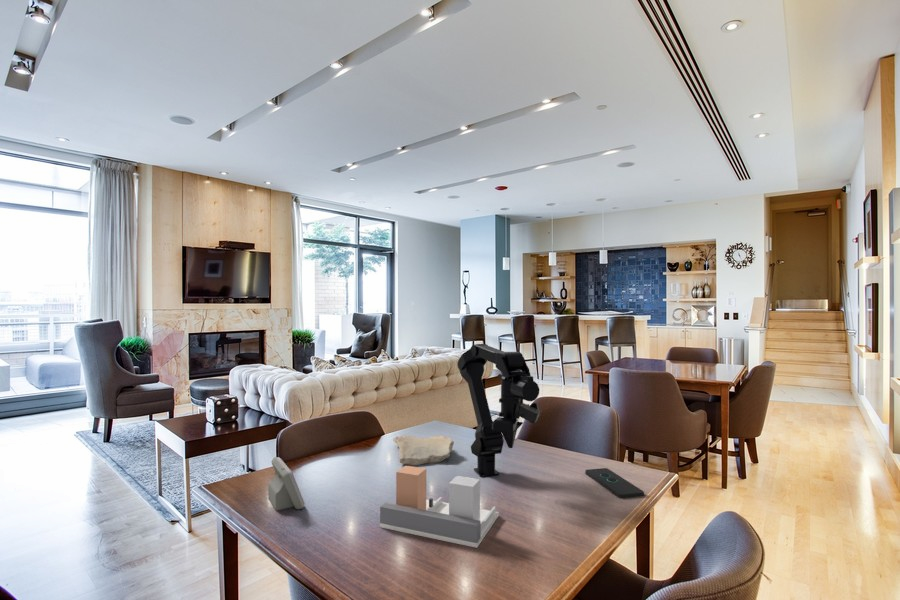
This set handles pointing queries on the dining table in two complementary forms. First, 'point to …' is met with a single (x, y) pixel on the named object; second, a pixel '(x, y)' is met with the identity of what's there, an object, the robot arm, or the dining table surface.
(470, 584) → the dining table surface
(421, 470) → the tall tan brick
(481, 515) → the base
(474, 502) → the tall white block
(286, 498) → the digital clock
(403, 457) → the beige rock
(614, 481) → the smart home device
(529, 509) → the dining table surface
